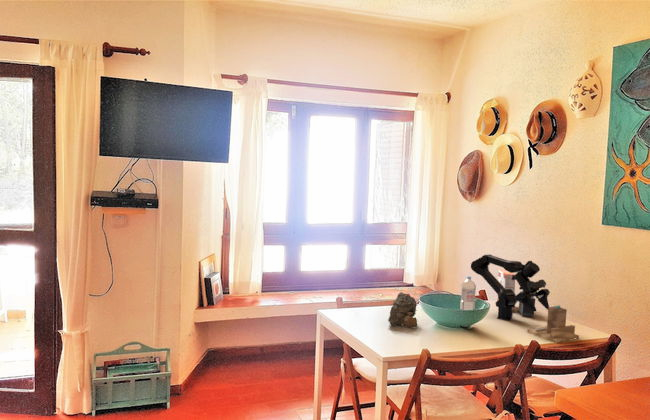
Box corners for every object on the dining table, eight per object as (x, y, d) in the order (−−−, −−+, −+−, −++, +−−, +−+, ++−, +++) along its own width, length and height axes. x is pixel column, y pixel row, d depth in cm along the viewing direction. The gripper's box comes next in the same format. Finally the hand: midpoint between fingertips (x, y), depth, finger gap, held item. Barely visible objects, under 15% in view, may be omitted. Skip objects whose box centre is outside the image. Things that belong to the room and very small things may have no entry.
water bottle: (473, 325, 229) (476, 276, 227) (473, 329, 222) (476, 278, 221) (459, 323, 231) (462, 274, 229) (458, 327, 224) (461, 277, 223)
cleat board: (527, 332, 221) (527, 321, 220) (549, 328, 228) (550, 317, 228) (555, 342, 207) (556, 331, 207) (578, 338, 214) (579, 327, 214)
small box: (534, 317, 246) (536, 298, 246) (522, 316, 248) (523, 297, 247) (530, 312, 257) (531, 294, 256) (517, 311, 258) (519, 293, 257)
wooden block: (546, 332, 217) (548, 304, 216) (554, 330, 220) (556, 303, 219) (557, 335, 212) (558, 307, 212) (564, 334, 215) (566, 306, 214)
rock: (391, 286, 233) (417, 286, 223) (403, 304, 240) (429, 304, 230) (379, 316, 222) (406, 317, 212) (392, 334, 229) (419, 336, 219)
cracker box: (496, 303, 273) (498, 269, 272) (506, 304, 273) (508, 269, 271) (502, 310, 259) (505, 273, 258) (513, 310, 259) (516, 274, 257)
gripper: (522, 275, 222) (540, 303, 213) (547, 272, 230) (566, 299, 221) (507, 287, 230) (524, 315, 220) (533, 284, 238) (550, 311, 229)
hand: (542, 310), depth 223 cm, fingers open, 9 cm apart
